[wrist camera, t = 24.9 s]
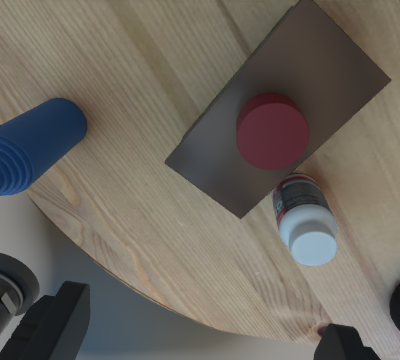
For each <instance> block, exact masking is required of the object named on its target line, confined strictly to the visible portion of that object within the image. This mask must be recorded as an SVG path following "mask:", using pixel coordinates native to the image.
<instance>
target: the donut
mask: <svg viewBox="0 0 400 360" xmlns="http://www.w3.org/2000/svg"><path fill="white" fill-rule="evenodd" d="M390 315H391V318H392V320H393V322H394V323H395V325H396V327H397V328H398V329H399V330H400V285H399V286H398V287H397V289H396V290H395V291H394V293H393V294H392V297H391V300H390Z"/></svg>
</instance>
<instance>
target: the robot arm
mask: <svg viewBox="0 0 400 360" xmlns="http://www.w3.org/2000/svg"><path fill="white" fill-rule="evenodd" d="M24 300H25V296H24V292H23V290H22V288H21V286H20V285H19V284H18V283H17V282H16V281H15V280H14V279H13V278H12V277H10V276H9V275H7V274H5V273H3V272H1V271H0V335H1V334H2V332H3V331H4V329H5V328H6V326H7V325H8V324H9V322H10V321H11V319H12V318H13V317H14V315H15V314H16V312H17V311H18V310H19V309H20V308H21V306H22V305H23V303H24ZM89 321H90V286H89V284H85V283H78V282H72V281H65V282H64V283H63V284H62V286H61V288H60V289H59V291H58V293H57V294H56V296H48V295H44V296H43V297H42V298H40V299H39V300H38V301H37V302H35V303H34V304H33V305H32V306H30V307H29V309H28V310H27V312H26V314H25V315H24V317H23V318H22V320H21V321H20V324H19V325H18V326H17V328H16V329H15V331H14V332H13V333H12V336H11V338H10V339H9V340H8V341H7V343H6V344H5V346H4V347H3V349H2V350H1V352H0V360H75V358H76V356H77V353H78V351H79V349H80V346H81V344H82V342H83V339H84V337H85V335H86V332H87V329H88V325H89ZM314 360H381V359H380V358H379V357H378V356H377V354H376V353H375V352H374V351H373V349H372V348H371V347H365V346H364V345H363V343H362V341H361V338H360V336H359V333H358V331H357V330H356V329H355V328H354V327H350V326H344V325H338V324H329V325H328V326H327V328H326V330H325V332H324V334H323V336H322V338H321V340H320V342H319V344H318V346H317V349H316V351H315V354H314Z"/></svg>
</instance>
